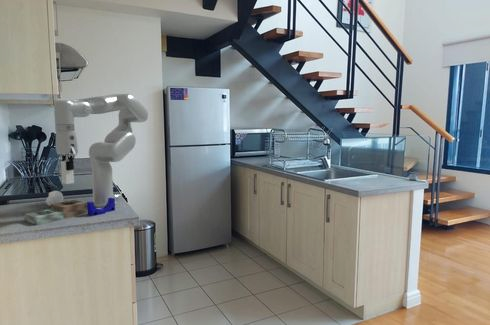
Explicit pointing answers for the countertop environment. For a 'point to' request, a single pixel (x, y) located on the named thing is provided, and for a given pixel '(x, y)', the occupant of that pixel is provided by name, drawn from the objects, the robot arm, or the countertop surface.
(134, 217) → the countertop surface
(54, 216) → the socket block
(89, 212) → the blue curved block
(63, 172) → the peg
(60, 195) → the white round lump
